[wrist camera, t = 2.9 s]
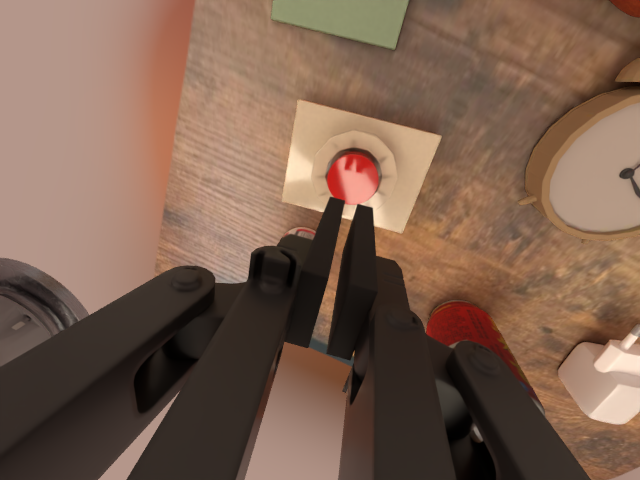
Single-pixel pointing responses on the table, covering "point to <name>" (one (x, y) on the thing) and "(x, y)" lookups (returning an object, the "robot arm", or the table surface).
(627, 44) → the table surface
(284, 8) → the mat
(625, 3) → the fruit
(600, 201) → the alarm clock
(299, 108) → the control block
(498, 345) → the soda can
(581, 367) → the power adapter
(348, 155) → the button
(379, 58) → the table surface
